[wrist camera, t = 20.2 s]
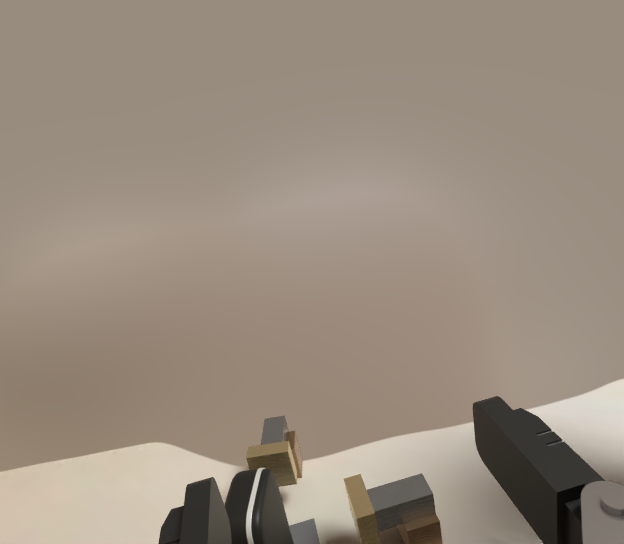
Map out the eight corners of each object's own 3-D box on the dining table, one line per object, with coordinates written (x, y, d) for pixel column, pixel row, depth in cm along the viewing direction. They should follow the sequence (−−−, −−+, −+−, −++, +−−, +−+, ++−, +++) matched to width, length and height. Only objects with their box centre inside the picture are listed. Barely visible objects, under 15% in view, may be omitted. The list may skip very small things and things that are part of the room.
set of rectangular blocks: (284, 449, 57) (271, 400, 54) (455, 533, 42) (448, 471, 39) (237, 495, 51) (219, 443, 49) (415, 610, 37) (403, 544, 34)
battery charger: (259, 550, 44) (230, 461, 40) (297, 547, 43) (271, 457, 40) (245, 628, 38) (208, 532, 34) (289, 626, 37) (256, 528, 33)
